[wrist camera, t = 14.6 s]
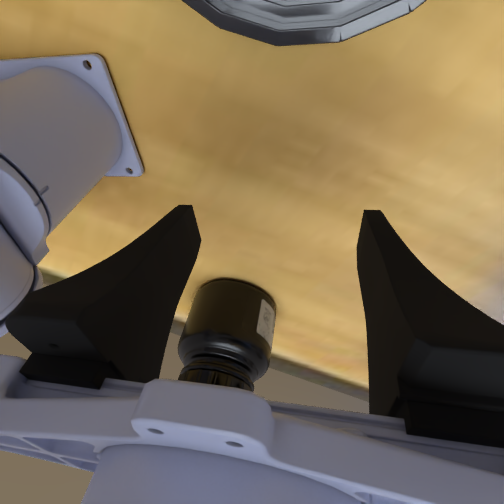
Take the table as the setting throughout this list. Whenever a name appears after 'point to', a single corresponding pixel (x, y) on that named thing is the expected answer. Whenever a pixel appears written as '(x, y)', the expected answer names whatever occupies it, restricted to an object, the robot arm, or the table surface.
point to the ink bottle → (227, 335)
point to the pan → (301, 18)
